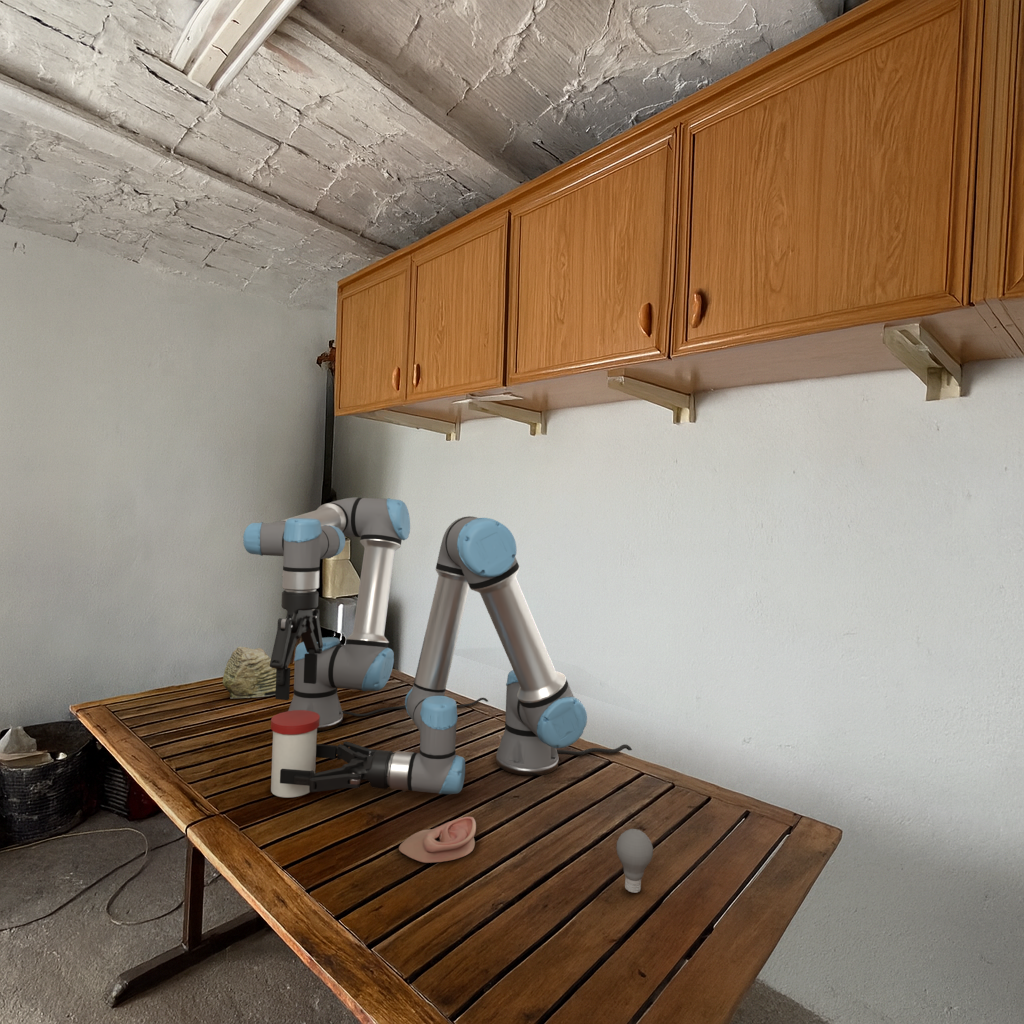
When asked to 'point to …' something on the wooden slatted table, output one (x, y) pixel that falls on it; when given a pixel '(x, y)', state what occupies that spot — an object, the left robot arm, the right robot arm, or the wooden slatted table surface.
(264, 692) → the fossil
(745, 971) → the wooden slatted table surface
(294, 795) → the jar
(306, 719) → the lid
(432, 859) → the anatomical model
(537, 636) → the right robot arm
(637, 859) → the light bulb
